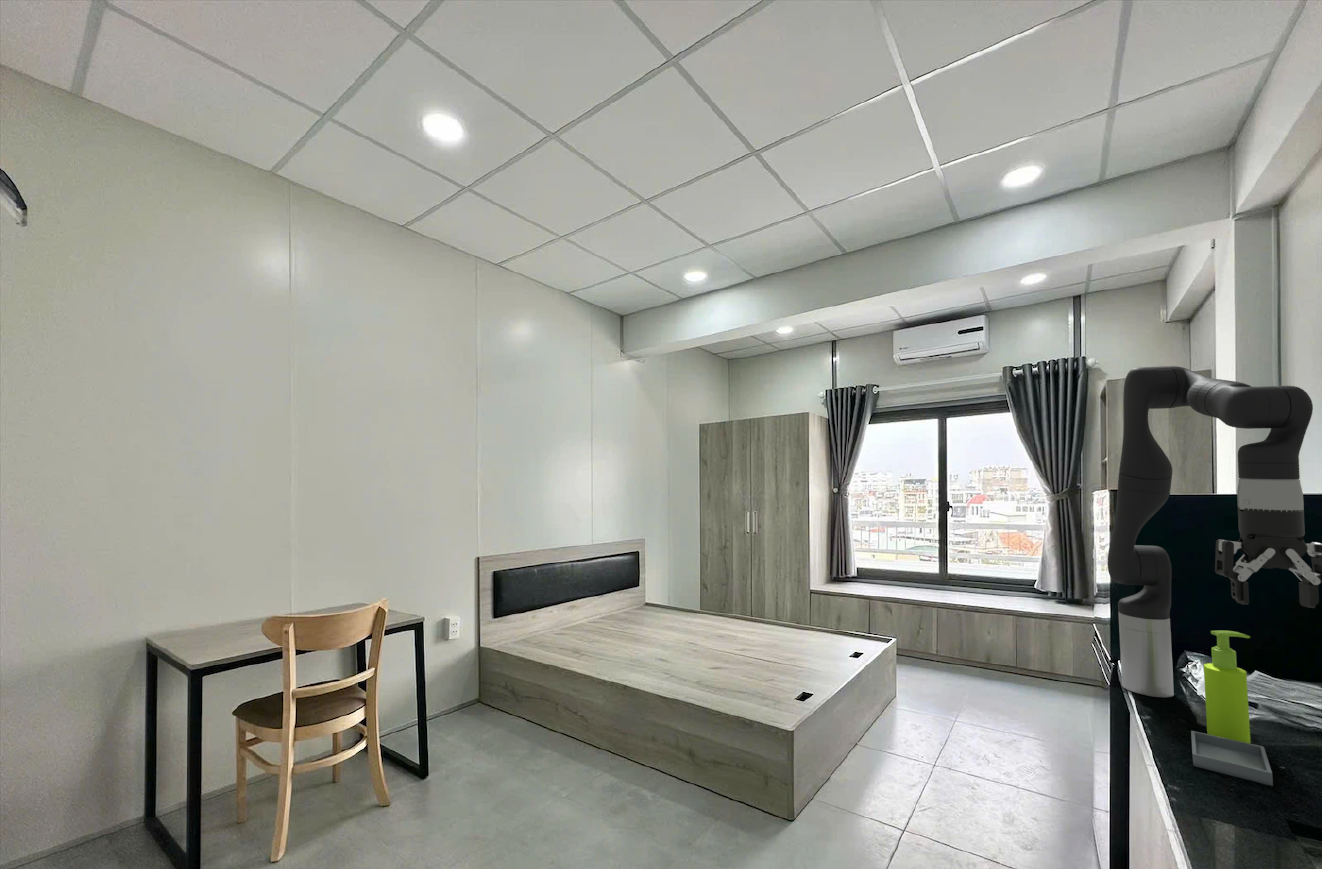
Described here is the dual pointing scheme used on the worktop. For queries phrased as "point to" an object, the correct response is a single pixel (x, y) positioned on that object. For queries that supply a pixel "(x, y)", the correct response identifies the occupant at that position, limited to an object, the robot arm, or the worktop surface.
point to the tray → (1231, 757)
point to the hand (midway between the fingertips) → (1274, 605)
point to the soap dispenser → (1226, 692)
